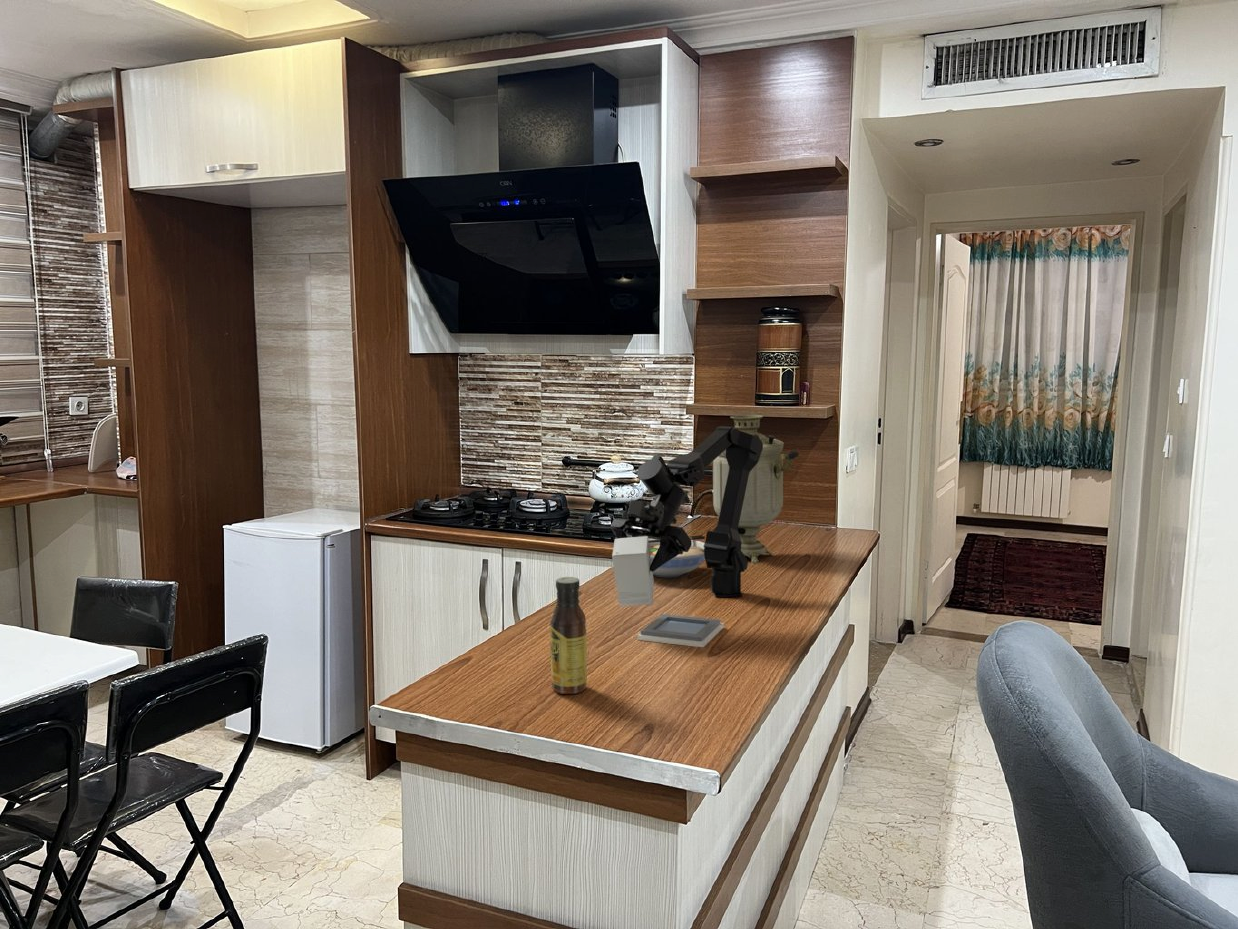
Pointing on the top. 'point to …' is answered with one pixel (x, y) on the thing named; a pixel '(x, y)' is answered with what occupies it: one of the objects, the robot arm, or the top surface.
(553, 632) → the sauce bottle
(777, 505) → the samovar
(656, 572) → the ramen bowl
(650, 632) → the grey square tray
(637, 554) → the supplement box
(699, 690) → the top surface
